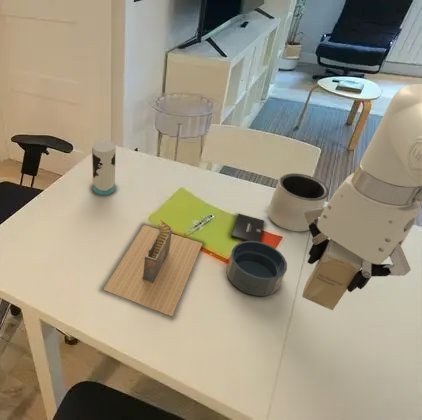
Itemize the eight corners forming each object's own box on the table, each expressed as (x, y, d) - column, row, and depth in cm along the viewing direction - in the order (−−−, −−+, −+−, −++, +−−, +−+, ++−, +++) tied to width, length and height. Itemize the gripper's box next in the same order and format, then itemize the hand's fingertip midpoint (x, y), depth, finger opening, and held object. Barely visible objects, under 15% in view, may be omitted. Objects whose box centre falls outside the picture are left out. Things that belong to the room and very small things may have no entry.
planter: (297, 202, 110) (311, 170, 103) (324, 230, 101) (340, 197, 94) (258, 206, 109) (269, 175, 102) (281, 235, 99) (294, 202, 92)
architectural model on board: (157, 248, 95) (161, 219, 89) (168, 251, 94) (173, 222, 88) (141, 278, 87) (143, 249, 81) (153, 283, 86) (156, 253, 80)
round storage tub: (290, 283, 87) (298, 265, 83) (255, 305, 82) (262, 288, 78) (249, 251, 94) (255, 234, 91) (215, 270, 89) (220, 253, 86)
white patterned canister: (115, 182, 118) (115, 140, 109) (114, 195, 113) (115, 152, 104) (93, 182, 118) (92, 139, 109) (92, 194, 113) (91, 151, 104)
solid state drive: (263, 222, 103) (264, 220, 103) (258, 245, 96) (259, 243, 96) (237, 215, 105) (238, 213, 105) (231, 237, 98) (231, 235, 98)
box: (301, 297, 64) (324, 251, 57) (306, 281, 67) (329, 236, 60) (334, 311, 62) (363, 266, 55) (338, 294, 64) (366, 249, 57)
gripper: (475, 207, 45) (400, 299, 56) (340, 147, 56) (300, 234, 68) (447, 229, 42) (374, 322, 53) (309, 161, 53) (273, 250, 64)
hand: (333, 272), depth 60 cm, fingers closed on box, 6 cm apart
